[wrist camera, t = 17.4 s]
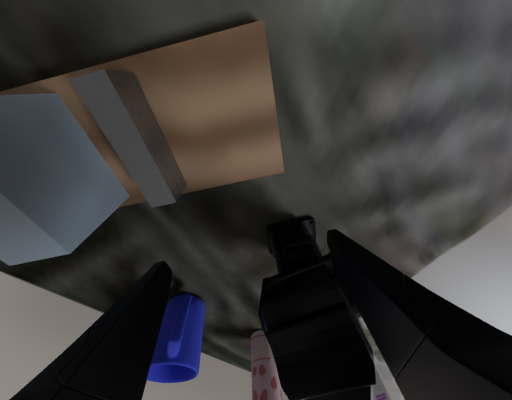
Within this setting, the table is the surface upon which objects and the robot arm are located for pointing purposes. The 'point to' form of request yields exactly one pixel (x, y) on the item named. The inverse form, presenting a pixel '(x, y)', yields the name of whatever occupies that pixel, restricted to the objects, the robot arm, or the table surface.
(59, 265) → the table surface
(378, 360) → the syrup box
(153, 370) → the mug
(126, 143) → the grey rectangular block
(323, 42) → the table surface
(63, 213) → the blue-grey rectangular block
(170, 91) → the shelf
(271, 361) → the beverage can
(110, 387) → the robot arm
